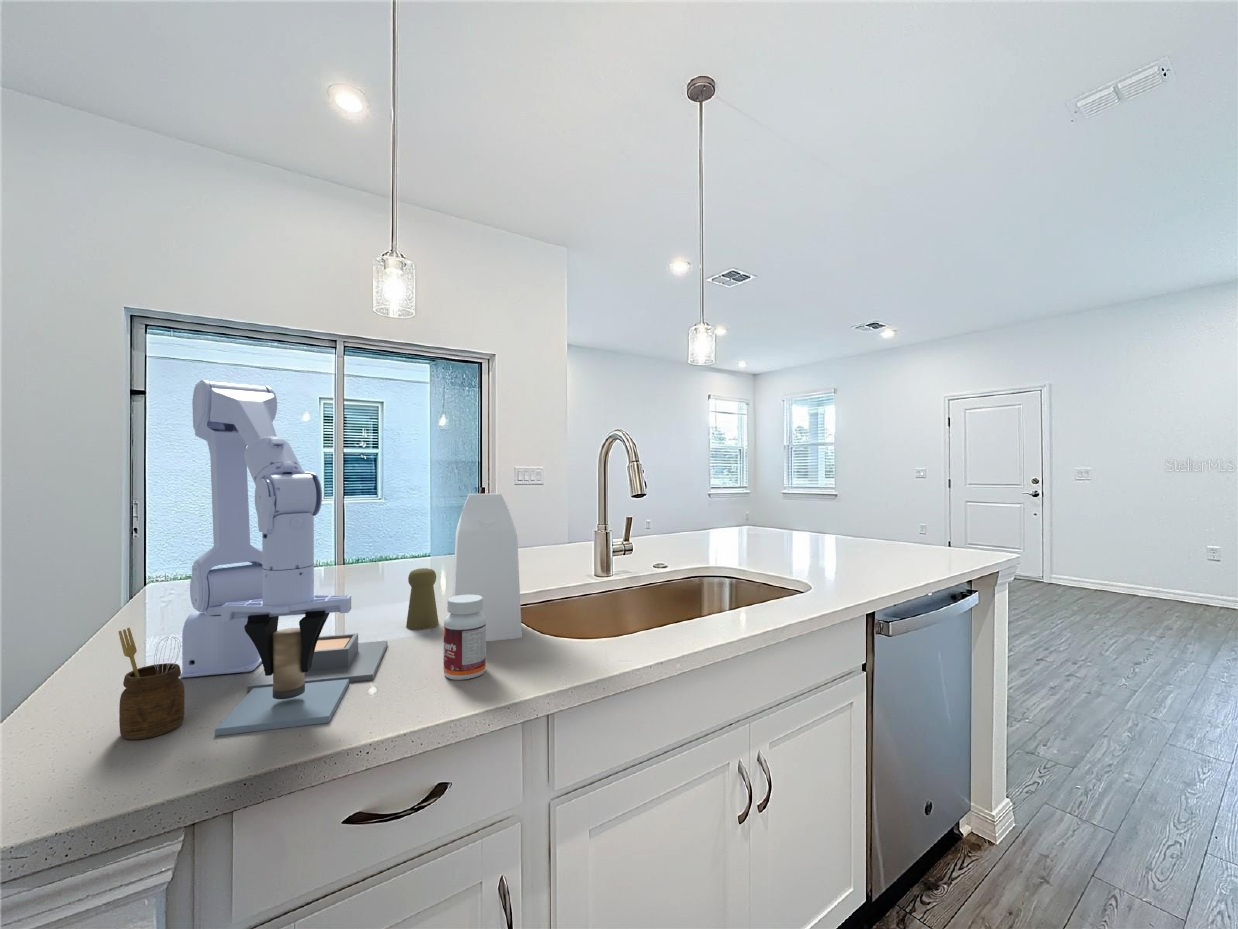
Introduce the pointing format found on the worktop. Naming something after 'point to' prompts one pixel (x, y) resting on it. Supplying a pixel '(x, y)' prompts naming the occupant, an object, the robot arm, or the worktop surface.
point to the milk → (489, 563)
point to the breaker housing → (338, 662)
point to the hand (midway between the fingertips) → (288, 671)
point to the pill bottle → (464, 638)
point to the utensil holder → (150, 696)
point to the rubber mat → (284, 708)
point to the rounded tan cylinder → (287, 664)
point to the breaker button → (331, 644)
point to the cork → (422, 600)
